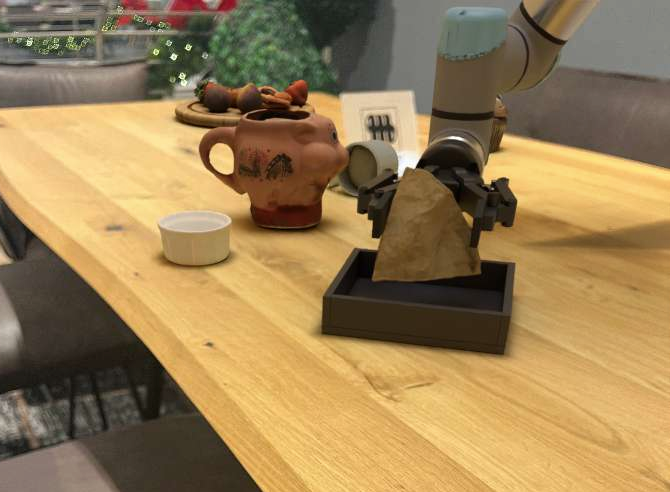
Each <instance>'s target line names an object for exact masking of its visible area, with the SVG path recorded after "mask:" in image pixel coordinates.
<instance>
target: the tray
mask: <svg viewBox="0 0 670 492" xmlns="http://www.w3.org/2000/svg"><path fill="white" fill-rule="evenodd" d="M377 251H378V249H373V248H371V249H370V248H360V247H354V248H353V249H352V251H351V252H350V254H349V255H348V257H347V259H346V260H345V261H344V263H343V264H342V266H341V268H340V269H339V271H338V272H337V274H336V275H335V277H334V278H333V280H332V281H331V283H330V284H329V286H328V287H327V288H326V290H325V292H324V294H323V295H322V301H321V302H322V303H321V305H322V307H321V334H324V335H325V334H326V335H334V336H335V335H336V336H342V337H343V336H344V337H351V338H361V339H367V340H378V341H385V342H386V341H387V342H393V343H394V342H395V343H405V344H412V345H420V346H429V347H439V348H447V349H453V350H454V349H455V350H465V351H472V352H480V353H481V352H482V353H489V354H498V355H504V354H505V351H506V346H507V339H508V336H509V335H508V334H509V329H510V323H511V318H512V309H513V308H512V307H513V299H514V286H515V274H516V262H513V261H501V260H492V259H481V274H478V275H472V276H457V277H453V278H448V279H436V280H428V281H415V282H398V281H386V280H383V281H378V282H374V281H372V276H373V272H374V267H375V261H376V256H377Z"/></svg>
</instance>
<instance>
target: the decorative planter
mask: <svg viewBox="0 0 670 492" xmlns="http://www.w3.org/2000/svg"><path fill="white" fill-rule="evenodd" d="M218 144H222V145H226V146H228V148H230V150H231V152H232V155H233V171H232V172H231V173H227V174H225V173H223V172H221V171H219V170H218V169H216V168H215V167H214V165H213V164H212V163H211V158H210V154H211V151H212V150H213V148H214V147H215V146H216V145H218ZM345 147H346V146H344V145H343V144H342V143H341V141H340V139H339V136H338V131H337V127H336V125H335V123H334V121H333V119H331V118H329V117H327V116H325V115H322V114H318V113H316V112H315V113H313V112H310V111H293V110H275V109H263V110H256V111H252V112H249V113H246V114H244V115H242V116H241V118H240V121H239V124H238V125H237V126H236V127H215V128H214V127H213V128H212V129H210V130H208V131H207V132H205V133H204V134H203V136H202V137H201V140H200V142H199V144H198V153H199V157H200V161H201V162H202V164H203V166H204V168H205V169H206V170H207V171H209V173H211V174H212V175H213V176H214V177H215V178H216V179H218V180H219V181H221V183H222V184H223V185H225V186H227V187H228V188H229V189H231V190H233V191H234V192H235V193H237V194H239V195H240V196H243V195H246V194H247V196H248V198H249V202H250V207H249V212H250V216H251V219H252V221H253V223H254V224H255V225H257V226H259V227H260V226H261V227H264V228H272V229H273V228H275V229H303V228H304V229H305V228H309V227H313V226H316V225H317V224H318V223H319V222H321V220H322V217H323V196H324V193H325V191H326V189H327V187H328V186H329V182H330V181H331V180H332V179H333V178H334V177H335V176H337V175H338V174H339V173H340V172H342V171H343V170H344V169H345V168H346V166H347V165H348V162H349V152H348V150H347V149H346V148H345Z"/></svg>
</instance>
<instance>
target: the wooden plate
mask: <svg viewBox="0 0 670 492" xmlns="http://www.w3.org/2000/svg"><path fill="white" fill-rule="evenodd" d="M210 80H211V78H207V79H205V80H203V81H200V82H198V81H197V82H196V83H195V87H196V88H194V90H193V93H192V94H194V97H196V99H191V100H186V101H183V102H181V103H179V104H177V105H176V106H175V109H174V114H175V116H176V117H177V118H178V119H179V120H180V121H183V122H185V123H189V124H193V125H197V126H198V125H199V126H204V127H205V126H206V127H215V128H217V127H236V126H237V125H238V124H239V121H240V118H241V116H242V115H244V114H246V113H249V112H252V111H256V110H263V109H275V110H293V111H310V112H313V113H316V109H315V107H314V105H312V104H310V103H308V102H307V101H308V98H309V91H308V90H309V89H308V88H309V87H308V84H307V82H306V81H305V80H303V79H297V80H295V81H291V83H289V84H288V86H287V87H285V88H284V89H283V91H281V92H279V91H278V90H276V89H275V88H274V87H272V86H269V85H264V86H261V87H257V86H256V85H255V83H254V82H249V83H247V84H246V85H244V86H243V87H236V88H235V87H234V88H233V87H229V86H223V85H221V84H220V83H218V82H215V81H210Z"/></svg>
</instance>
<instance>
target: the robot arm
mask: <svg viewBox="0 0 670 492" xmlns="http://www.w3.org/2000/svg"><path fill="white" fill-rule="evenodd" d="M600 1H601V0H521V1H520V3H518V6H517V7H516V8H515V10H514V11H513V13H512V14H511V15H510V17H508V13H507V11H506V10H505V9H503V8H500V7H487V6H453V7H450V8H448V9H447V10H446V11H445V12H444V14H443V17H442V21H441V27H440V33H439V39H438V41H437V42H438V43H437V45H436V61H435V62H436V63H435V73H434V75H435V76H434V83H433V94H432V103H431V113H430V121H429V128H428V138H427V139H428V140H427V146H426V148H425V149H424V151H423V153H422V154H421V156H420V158H419V160H418V161H417V162H416V165H415V167H414V169H415V168H418V169H424V170H426V171H428V172H429V173H431V174H432V175H433V176H434V177H435V178H436V179H437V180H439V181H440V182H441V183H442V184H444V185H445V186H446V187H447V188H449V189H450V190H451V192H452V193H453V196H454V198H455V200H456V202H457V204H458V206H459V208H460V209H461V211H462V213H465V214H467V215H469V217H470V218H472V224H471V227H472V231H471V238H470V245H469V247H471V248H478V249H479V243H480V238H481V234H482V232H491V233H492V232H493V231H494V230H495V225H496V223H499V224H500V226H501V227H504V228H505V229H506V228H509V229H510V228H512V227H514V224H515V218H516V212H517V208H518V206H517V205H518V201H519V199H518V198H517V197H516V195H515V194H514V193H513V191H512V189H511V188H510V186H509V185H510V178H507V176H506V177H505V176H502V177H498V178H497V179H491V181H490V183H485V180H484V178H483V177H484V176H483V175H484V173H485V168H486V166H487V165H488V162H489V158H490V153H491V152H490V137H491V130H492V124H493V117H494V111H495V105H496V98H497V94H500V95H501V94H506V93H511V92H517V91H524V90H529V89H530V90H531V89H532V88H535V87H536V86H538V85H541V84H542V83H544V82H545V81H547V80H548V79H549V78H550V77H552V75H553V74H554V73H555V72H556V70H557V69H558V67H559V63H560V61H561V57H562V53H563V48H564V46H565V45H566V44H567V43H568V41H569V40H570V39H571V38H572V37H573V35H574V34H575V33H576V31H577V30H578V29H579V28H580V27H581V25H582V24H583V23H584V21H585V20H586V19H587V18H588V16H589V15H590V14H591V13H592V11H593V10H594V9H595V8H596V6H597V5H598V3H600ZM401 178H402V176H399V172H398V171H397V172H394V170H393V169H391V168H386V169H383V173H382V174H381V175H379V176H377V177H375V178H374V179H372V180H370V181H368V182H367V183H365V184H363V185H361V186H360V187H358V197H357V200H356V201H357V203H356V213H357V214H359V215H367V217H366V218H367V220H368V221H370V222H372V226H371V239H377V240H380V238H381V236H382V234H383V232H384V230H385V226H386V221H387V218H388V216H389V212H390V208H391V205H392V201H393V198H394V196H395V194H396V191H397V187H398V185H399V183H400V181H401Z"/></svg>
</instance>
